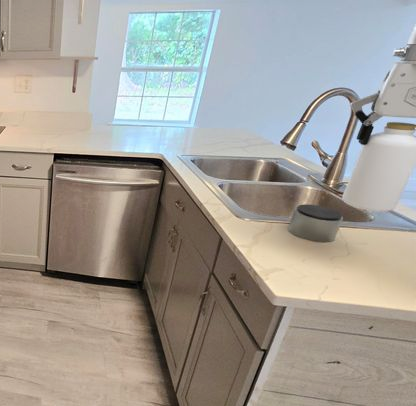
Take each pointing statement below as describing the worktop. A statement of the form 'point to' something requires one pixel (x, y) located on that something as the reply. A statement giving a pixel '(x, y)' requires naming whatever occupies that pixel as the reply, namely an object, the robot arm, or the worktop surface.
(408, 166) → the white bottle
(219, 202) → the worktop surface
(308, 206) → the grey cylinder
